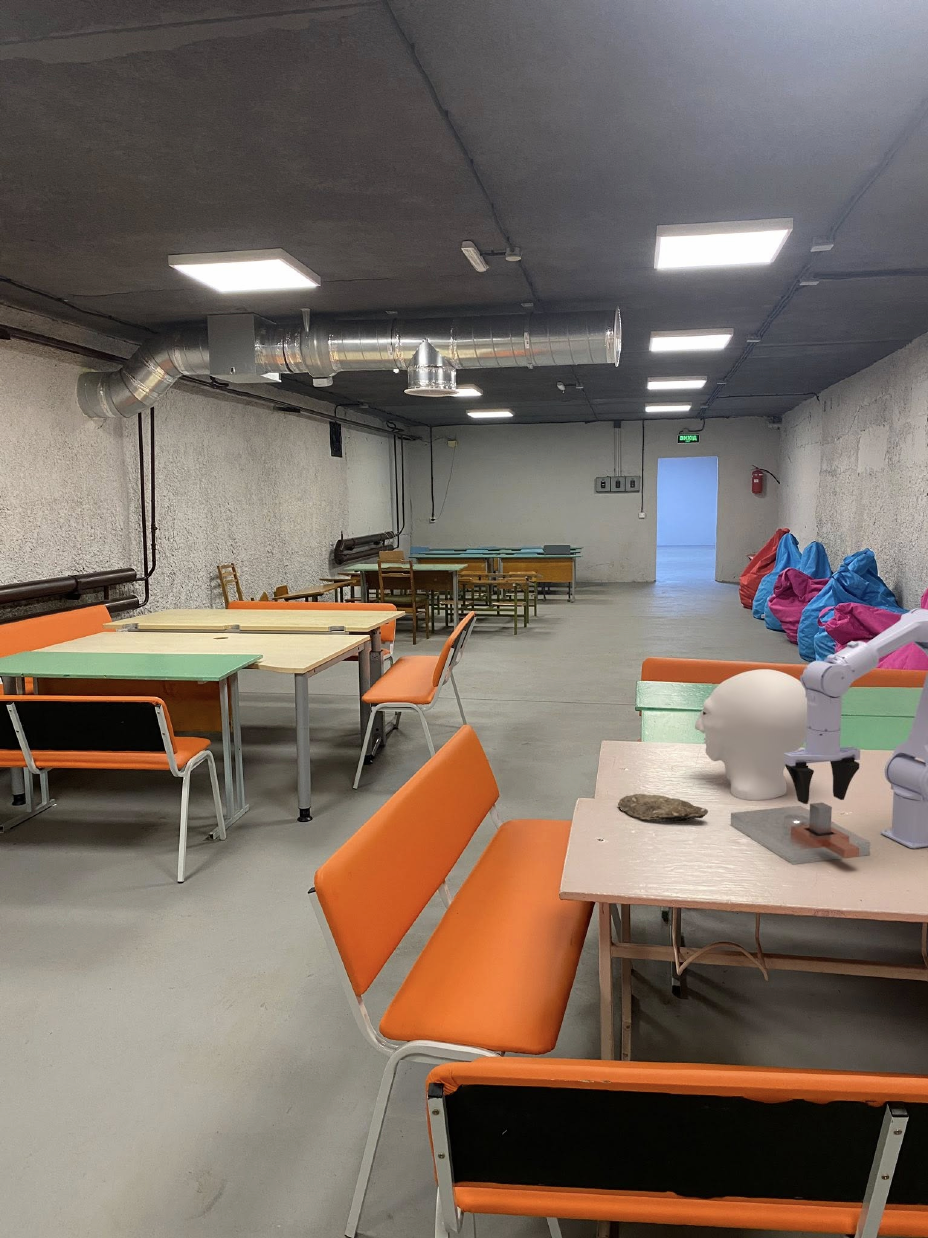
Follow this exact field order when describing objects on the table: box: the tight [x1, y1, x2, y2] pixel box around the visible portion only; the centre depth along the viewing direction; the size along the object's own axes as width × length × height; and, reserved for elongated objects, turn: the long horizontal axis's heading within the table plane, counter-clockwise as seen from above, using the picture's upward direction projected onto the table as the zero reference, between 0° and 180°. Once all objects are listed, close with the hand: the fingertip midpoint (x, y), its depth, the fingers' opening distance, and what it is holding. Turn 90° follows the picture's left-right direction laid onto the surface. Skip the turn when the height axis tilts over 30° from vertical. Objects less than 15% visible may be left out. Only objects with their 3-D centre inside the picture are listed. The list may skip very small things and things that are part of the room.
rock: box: [617, 793, 709, 823], centre depth 168 cm, size 18×11×4 cm, turn 73°
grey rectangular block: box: [809, 801, 833, 836], centre depth 147 cm, size 3×3×9 cm
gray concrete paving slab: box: [730, 805, 871, 865], centre depth 151 cm, size 16×25×4 cm, turn 13°
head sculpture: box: [694, 668, 807, 801], centre depth 183 cm, size 17×27×28 cm, turn 52°
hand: (820, 800), depth 147 cm, fingers open, 7 cm apart
